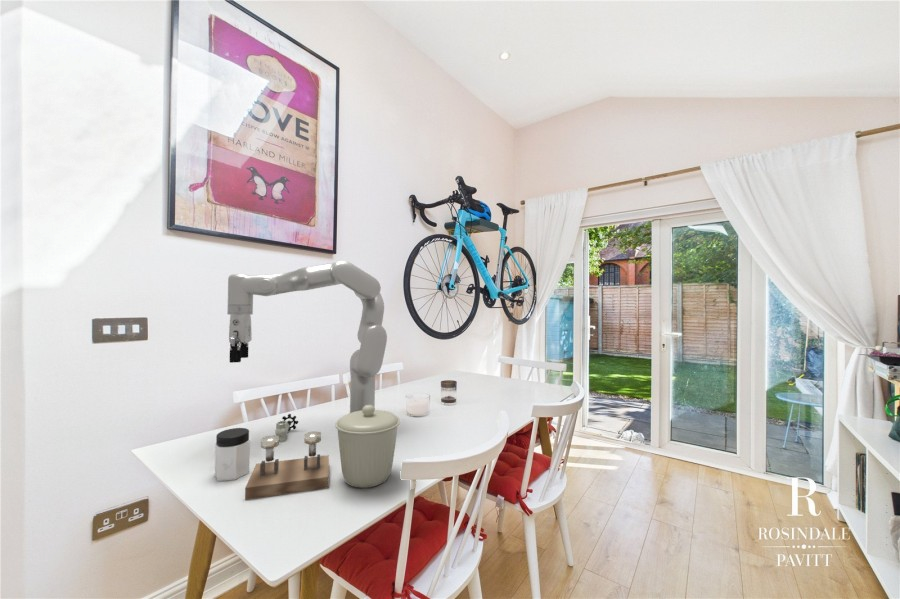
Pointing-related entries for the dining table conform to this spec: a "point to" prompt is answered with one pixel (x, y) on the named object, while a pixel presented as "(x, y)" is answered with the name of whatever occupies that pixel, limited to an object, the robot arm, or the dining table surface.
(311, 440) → the knob
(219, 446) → the jar
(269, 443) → the knob
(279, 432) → the valve
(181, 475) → the dining table surface
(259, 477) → the mount board
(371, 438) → the canister
